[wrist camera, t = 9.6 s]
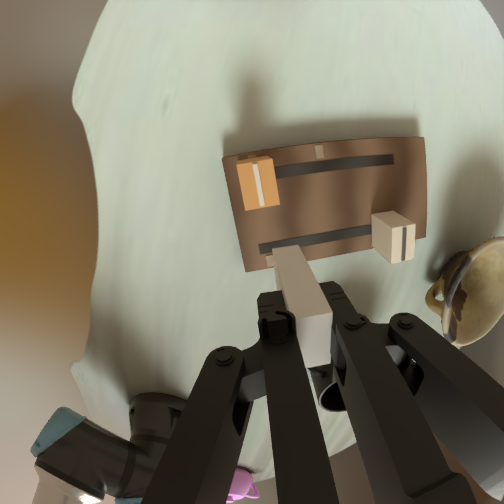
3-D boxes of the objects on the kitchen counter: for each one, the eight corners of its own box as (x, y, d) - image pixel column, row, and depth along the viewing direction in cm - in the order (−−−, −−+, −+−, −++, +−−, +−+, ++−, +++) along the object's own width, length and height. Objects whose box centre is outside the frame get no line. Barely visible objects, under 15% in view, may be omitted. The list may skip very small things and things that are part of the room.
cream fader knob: (371, 246, 30) (391, 265, 26) (371, 214, 29) (393, 228, 24) (392, 241, 30) (414, 259, 26) (392, 210, 29) (416, 224, 24)
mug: (317, 314, 37) (334, 359, 29) (373, 338, 40) (395, 377, 31) (281, 357, 40) (289, 403, 32) (338, 375, 43) (352, 415, 34)
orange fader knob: (244, 198, 28) (245, 211, 23) (237, 160, 26) (236, 165, 22) (273, 193, 28) (280, 205, 23) (266, 155, 26) (272, 158, 21)
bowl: (489, 206, 31) (528, 226, 22) (479, 295, 38) (507, 322, 29) (414, 232, 33) (456, 261, 24) (410, 329, 40) (437, 365, 31)
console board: (245, 264, 33) (245, 272, 32) (223, 157, 28) (221, 158, 26) (417, 232, 33) (426, 237, 31) (415, 136, 27) (424, 137, 26)
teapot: (197, 460, 56) (194, 492, 47) (266, 468, 60) (268, 498, 50) (189, 473, 61) (187, 501, 52) (251, 481, 65) (252, 507, 55)
